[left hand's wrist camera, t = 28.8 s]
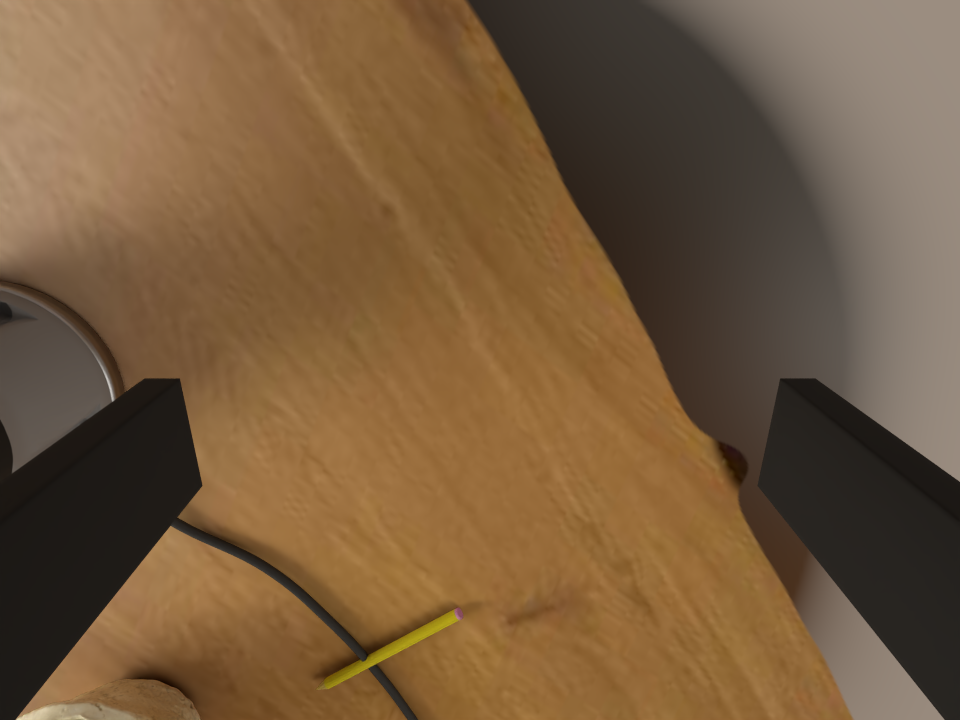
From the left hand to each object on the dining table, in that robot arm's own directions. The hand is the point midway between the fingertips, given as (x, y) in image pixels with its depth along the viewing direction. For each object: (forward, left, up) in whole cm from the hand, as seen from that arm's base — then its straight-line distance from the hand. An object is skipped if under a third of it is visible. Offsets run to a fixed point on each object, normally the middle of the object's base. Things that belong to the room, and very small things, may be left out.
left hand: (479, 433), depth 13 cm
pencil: (-31, +22, -27) cm, 47 cm away
